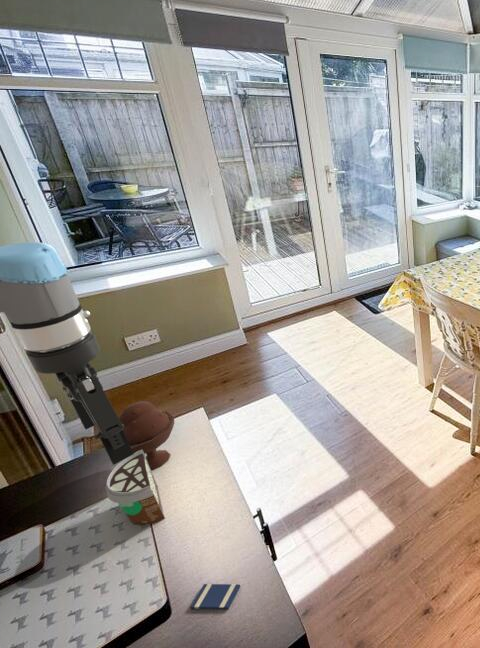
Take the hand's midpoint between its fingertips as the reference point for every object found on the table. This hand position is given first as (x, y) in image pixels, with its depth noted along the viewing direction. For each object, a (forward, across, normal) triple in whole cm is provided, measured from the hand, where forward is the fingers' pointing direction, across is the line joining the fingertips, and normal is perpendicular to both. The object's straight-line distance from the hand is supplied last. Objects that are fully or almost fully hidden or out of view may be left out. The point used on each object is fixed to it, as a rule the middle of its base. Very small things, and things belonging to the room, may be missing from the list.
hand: (108, 440), depth 73 cm
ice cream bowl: (+20, +13, -6) cm, 25 cm away
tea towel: (+20, -27, -1) cm, 33 cm away
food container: (+20, +1, 0) cm, 20 cm away
